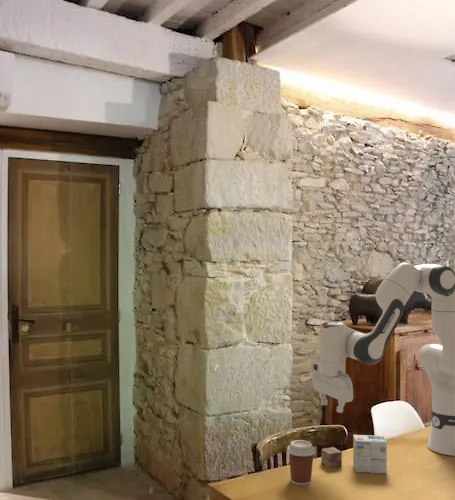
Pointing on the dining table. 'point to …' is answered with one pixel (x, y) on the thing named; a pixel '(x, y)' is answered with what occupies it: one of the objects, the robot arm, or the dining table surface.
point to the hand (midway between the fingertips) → (331, 408)
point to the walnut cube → (331, 457)
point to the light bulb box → (369, 454)
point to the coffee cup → (301, 461)
